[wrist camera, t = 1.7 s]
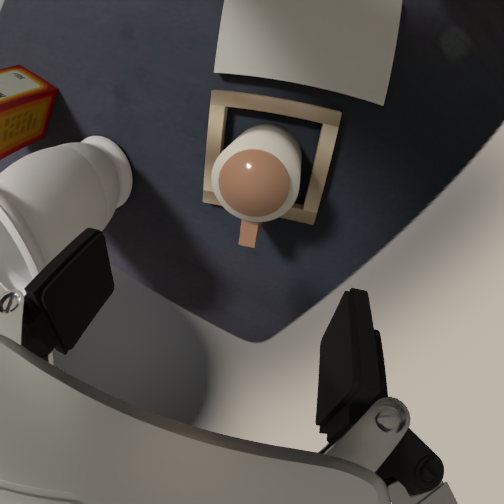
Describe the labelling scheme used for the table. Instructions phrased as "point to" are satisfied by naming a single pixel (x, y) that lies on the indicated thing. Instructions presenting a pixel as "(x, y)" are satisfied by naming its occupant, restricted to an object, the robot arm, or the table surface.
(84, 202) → the jar
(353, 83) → the mat
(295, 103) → the wooden square frame
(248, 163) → the cylinder with brown end
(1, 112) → the baking soda box
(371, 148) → the table surface
